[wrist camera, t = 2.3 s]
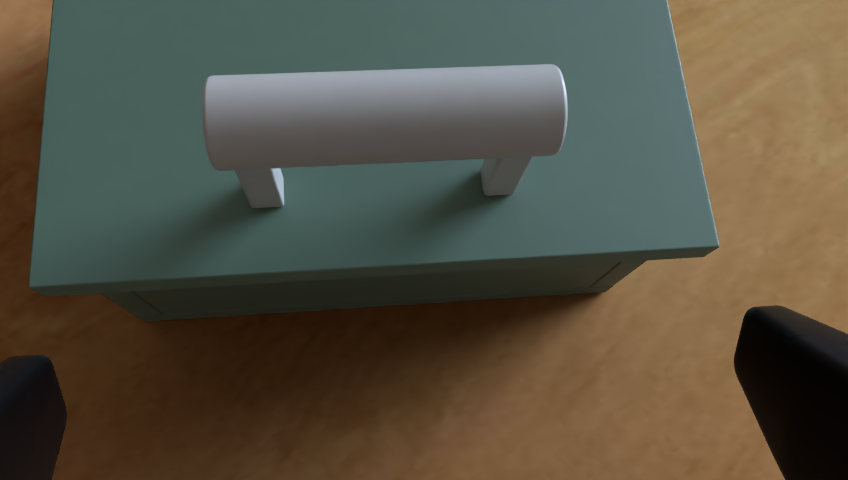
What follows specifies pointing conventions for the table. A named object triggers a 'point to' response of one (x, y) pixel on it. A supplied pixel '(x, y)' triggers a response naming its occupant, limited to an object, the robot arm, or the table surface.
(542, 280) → the bin
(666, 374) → the table surface
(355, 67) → the bin lid
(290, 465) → the table surface
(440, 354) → the table surface
